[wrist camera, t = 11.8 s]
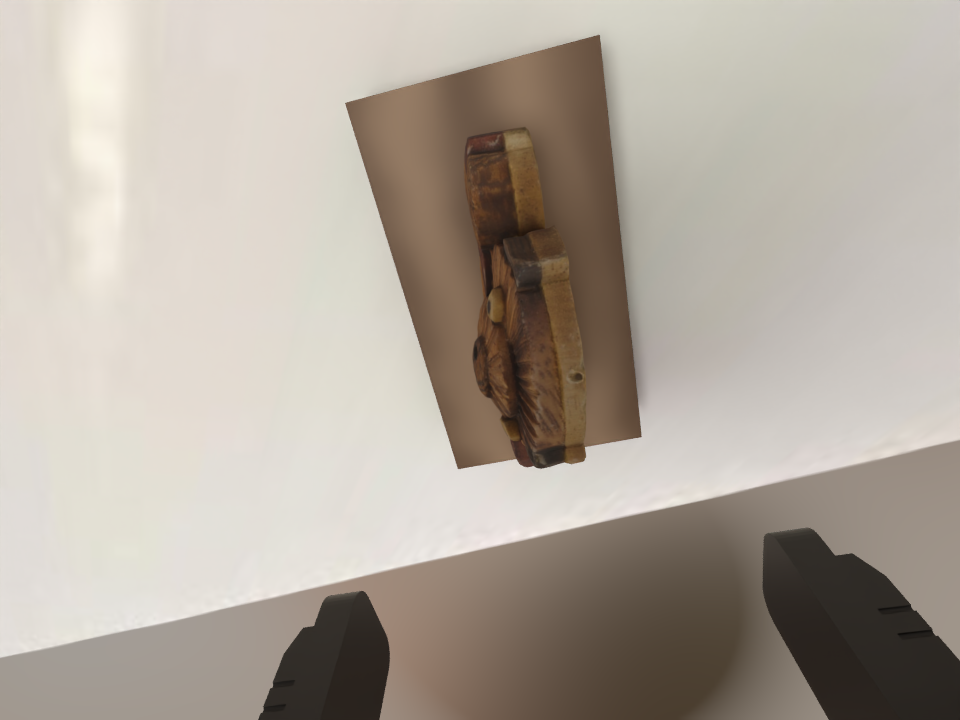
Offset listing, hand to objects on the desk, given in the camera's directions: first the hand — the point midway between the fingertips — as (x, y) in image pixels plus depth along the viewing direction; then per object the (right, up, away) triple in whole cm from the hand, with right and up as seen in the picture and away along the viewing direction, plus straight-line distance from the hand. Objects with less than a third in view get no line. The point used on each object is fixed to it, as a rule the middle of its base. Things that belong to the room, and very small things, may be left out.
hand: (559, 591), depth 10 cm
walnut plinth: (0, +10, +21) cm, 23 cm away
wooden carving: (0, +8, +17) cm, 19 cm away
